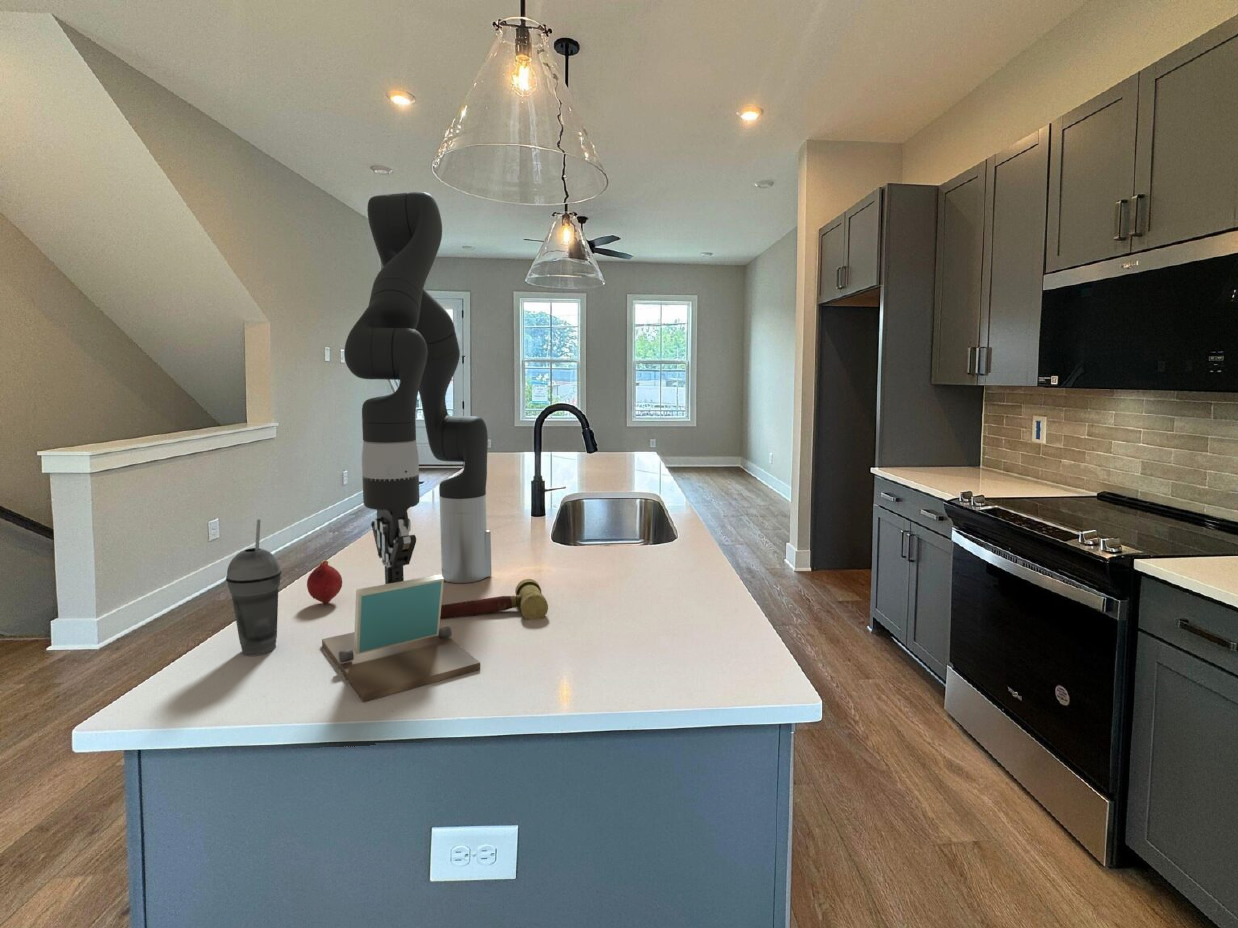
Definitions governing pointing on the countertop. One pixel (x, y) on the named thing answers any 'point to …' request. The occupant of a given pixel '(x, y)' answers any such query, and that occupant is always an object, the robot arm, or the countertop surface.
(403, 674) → the walnut board
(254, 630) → the beverage cup
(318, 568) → the onion
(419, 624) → the tile
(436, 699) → the countertop surface
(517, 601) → the gavel
